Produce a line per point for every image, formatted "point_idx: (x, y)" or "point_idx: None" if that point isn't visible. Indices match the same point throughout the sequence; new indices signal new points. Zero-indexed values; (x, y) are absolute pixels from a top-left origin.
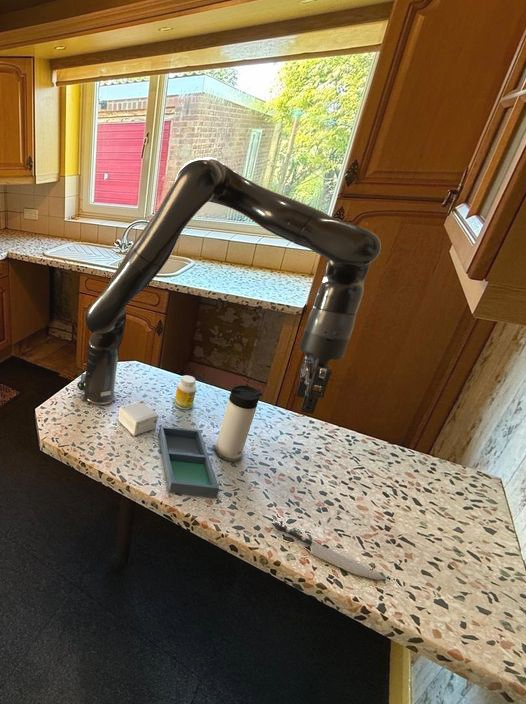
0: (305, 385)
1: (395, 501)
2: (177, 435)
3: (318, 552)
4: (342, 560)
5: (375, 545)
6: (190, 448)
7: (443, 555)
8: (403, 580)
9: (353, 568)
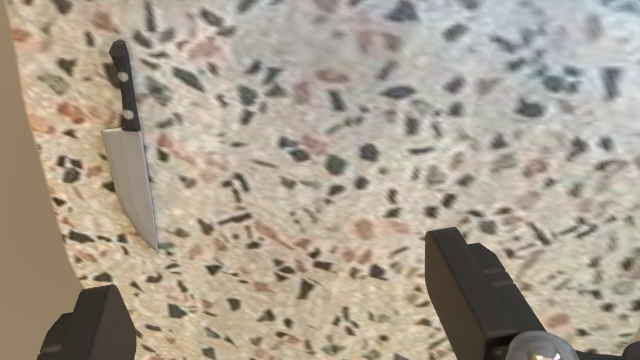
0: (465, 343)
1: None
2: None
3: (115, 144)
4: (133, 188)
5: (247, 242)
6: None
7: (306, 331)
8: (183, 273)
9: (130, 205)
